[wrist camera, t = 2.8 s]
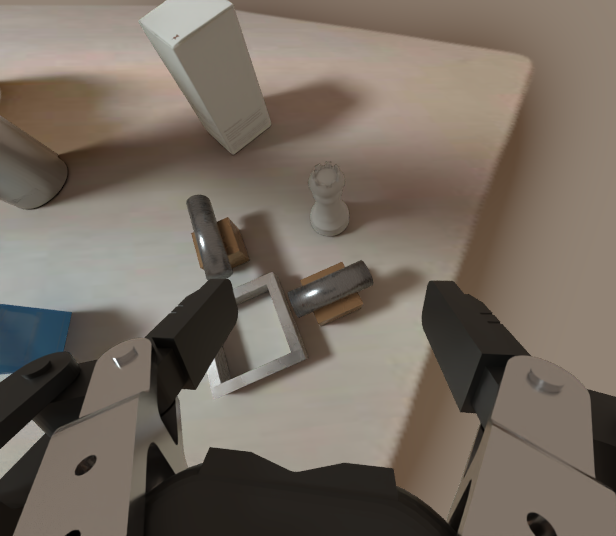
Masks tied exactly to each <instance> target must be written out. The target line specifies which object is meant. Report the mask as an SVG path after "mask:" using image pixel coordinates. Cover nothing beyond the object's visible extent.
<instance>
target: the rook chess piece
mask: <svg viewBox="0 0 616 536" xmlns="http://www.w3.org/2000/svg"><path fill="white" fill-rule="evenodd" d="M315 169H316V170H315V171H313V170H312V172H311V175H310V177H309V181H308V185H309V189H310V190H311V191H312V192H313V197H314V199H315V200H316V203H315V204H314V206H313V207H312V209H311V214H310V218H311V224H312V227H313V228H314V230H315V231H316V232H317V233H319V234H321V235H324V236H334V235H338V234H339V233H341V232H342V231H344V230H345V228H346V227H347V225H348V224H349V218H350V217H349V211H348V207H347V205H346V204H345V203H344V202H343V201H342V200H341V198H340V197H341V196H342V188H343V187H344V184H345V177H344V174H343V173H342V172H341V171H340V170H339V167H338V166H337V165H336V164H335V165H334V167H333V166H331V162H325V166H321V164H320V163H319V164H318V165H316V166H315Z"/></svg>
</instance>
